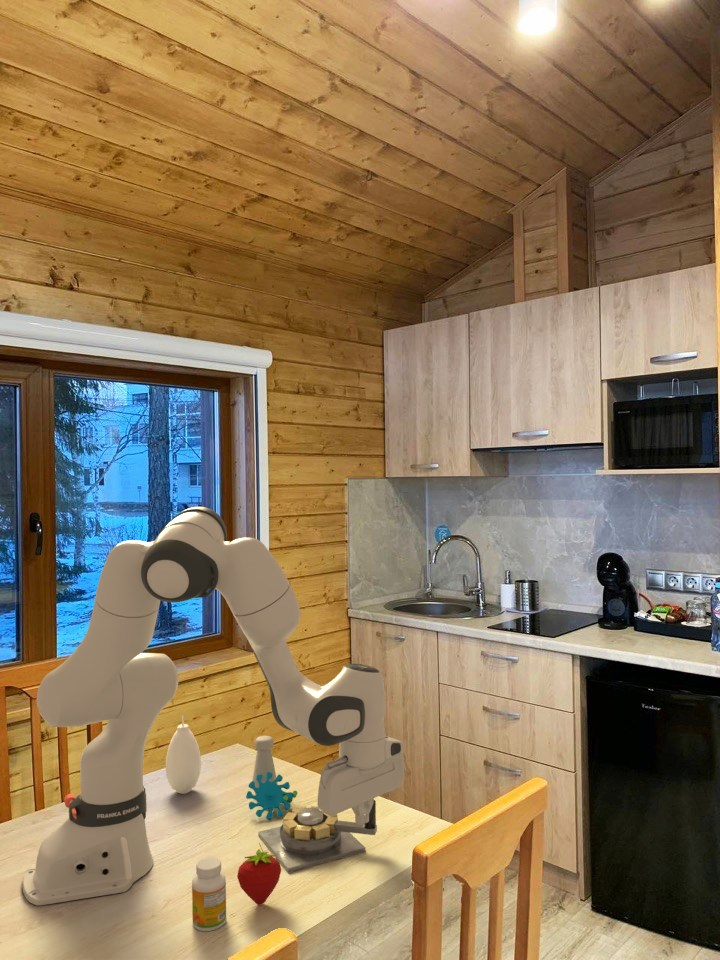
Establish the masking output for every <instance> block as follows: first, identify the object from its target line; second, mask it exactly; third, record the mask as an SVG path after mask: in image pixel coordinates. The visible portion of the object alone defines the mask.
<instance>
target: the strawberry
mask: <svg viewBox="0 0 720 960" xmlns="http://www.w3.org/2000/svg"><path fill="white" fill-rule="evenodd" d="M258 845H259V847H260V848H258V849H257V851H256V852H255V854H254V855H249V856H244V859H246V860H245V861H243V862H242V863H241V864H240V866H239V867H238V870H237V875H236V877H237V881H238V883H239V886H240V888H241V890H243V892H244V893H245V894H246V895H247V897H249V899H250V900H252V901H253V902H254V903H255V904H256V905H257V906H261V905H262V906H263V904H265V903H266V901H267V899H268V898H269V897H270V896H271V895H272V893H273V892H274V890H275V888H276V886H277V884H278V883H279V881H280V877H281V874H282V873H281V872H282V867H281V863H280V862H279V861H278V859H277V858H276V857H275V856H276V855H274V854H269V851H265V852H264V850H263V848H262V846H261V844H260V842H259V843H258ZM260 849H261V850H260Z"/></svg>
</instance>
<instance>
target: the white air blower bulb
mask: <svg viewBox="0 0 720 960" xmlns="http://www.w3.org/2000/svg"><path fill="white" fill-rule="evenodd" d="M184 717H185V716H184V714H182V715H181V724H179V725H178V726H177V728H176V731H175V732H174V734H173V735H172V738H171V740H170V742H169V745H168V748H167V753H166V758H165V773H166V779H167V781H168V782H167V783H168V784H169V786H170V787H171V789H172V790H174V791H175V792H176V793H179V794H181V795H185V794H188V793H189V792H191V791H192V789H194V787H196V785H197V783H198V781H199V778H200V775H201V769H202V760H201V757H202V756H201V752H200V747H199V745H198V742H197V738H196V737H195V734H193V732H192V730H191V729H190V726H189V725H188V724H186V723H185V719H184Z"/></svg>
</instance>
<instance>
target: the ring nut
mask: <svg viewBox="0 0 720 960" xmlns="http://www.w3.org/2000/svg"><path fill="white" fill-rule="evenodd" d="M376 805H377V804H376V800H375V799H374V803H373V806H372V808H371V811H370V813H369V822H367V823H365V824H363V825H358V824H356V822H353V821H345V820H339V817H338V814H336V815H333V816H330V815H328V814H325V813H323V822H324V823H322V824H319V825H315V826H304V825H298V824H297V823H298V812H299V811H300V810H302V809H304V808H308V807H307V806H302V807H297V808H295V809H292V810H291V812H289V811H288V812H287V813H286V814H285V816H283V818H282V824H283V831H284V832H285V833H286V834H287V835H288V836H289V837H292V836H295V839H299V840H307V841H310V839H311V838H312V837H313V838H314V839H315V840H318V839H322V838H325V837H329V836H330V833H331V834H334V833H335V831H341V832H350V833H351V834H359V835H360V834H361V835H367V836H368V835H370V836H375V835H376V833H377V831H378V825H377V817H376V816H377V814H376V813H377V809H376V808H377V807H376ZM309 808H318V806H314V805H313V806H312V805H311V806H310V807H309ZM318 809H319V808H318Z"/></svg>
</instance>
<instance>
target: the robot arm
mask: <svg viewBox="0 0 720 960" xmlns="http://www.w3.org/2000/svg"><path fill="white" fill-rule="evenodd" d="M227 538H228V532H227V527H226V524H225V521H224V520H223V518H222V517H221V515H220V514H219V513H217V512H216V511H214V510H213V509H211V508H209V507H205V506H194V507H190V508H187V509H184V510H182V511H181V512H179V513H177V514H175V516H174V517H172V518H171V519H170V520H169V522H168V523H166V525H165V526H163V528H161V530H159V532H158V535H157V537H156V538H155V540H153V541H148V542H147V541H142V540H139V539H138V540H137V539H135V540H134V539H132V540H125V541H122V542H120V543H117V544H116V545H115V546H114V547H113V548H112V549H110V551H109V553H108V554H107V557H106V560H105V562H104V566H103V568H102V570H101V573H100V577H99V580H98V583H97V588H96V592H95V597H94V604H93V608H92V613H91V617H90V620H89V625H88V627H87V628H88V629H87V631H86V633H85V635H84V637H83V639H82V641H81V642H80V643H79V645H78V646H77V647H76V649H74V651H73V652H72V654H71V655H69V657H68V658H67V659H65V660H64V662H63V663H61V664H60V665H58V666H57V667H56V668H54V669H53V670H51V671H49V672H48V673H47V674H46V675H45V676H44V677H43V679H42V680H41V682H40V684H39V686H38V689H37V693H36V705H37V709H38V713H39V714H40V716H41V718H42V719H43V720H44V721H45V723H47V724H48V725H50V726H51V727H52V728H73V727H74V728H75V727H77V728H78V727H82V726H83V727H84V726H88V725H93V724H97V723H103V722H106V721H107V723H106V725H105V727H104V728H103V729H102V731H101V732H100V733H99V734H98V735H97V736H96V737H95V738H94V739H92V740H91V741H90V742H89V743H88V744H86V746H85V747H84V749H83V751H82V753H81V756H80V759H79V772H80V773H79V774H80V775H79V777H80V794H79V795H77V796H76V795H74V793H67V795H65V797H64V799H63V802H64V806H65V807H66V808H68V818H67V819H66V820H65V821H64V822H62V823H61V824H60V825H59V826H58V827H57V828H56V829H55V830H53V831H52V832H51V833H50V834H49V835H48V836H46V837H45V838H44V839H43V841H42V842H41V844H40V846H39V849H38V853H37V856H36V860H35V861H36V862H35V863H32V864H31V865H29V867H28V868H27V869H26V871H25V872H24V874H23V877H22V891H23V895H24V897H25V899H26V900H27V901H28V902H29V903H30V904H32V905H34V906H44V905H52V904H57V903H64V902H65V903H66V902H70V901H76V900H82V899H88V898H95V897H102V896H108V895H114V894H119V893H120V894H121V893H125V892H126V891H128V890H129V889H130V888H131V887H132V885H133V884H134V882H136V881H137V880H139V879H140V878H141V877H144V876H145V875H146V874H147V873H148V872H149V871H150V870H151V869H152V867H153V864H154V858H153V855H152V852H151V849H150V844H149V840H148V835H147V829H146V819H147V817H146V816H147V810H148V809H147V792H146V788H145V786H144V761H145V760H144V759H145V748H146V747H145V746H146V743H147V740H148V739H147V738H148V735H149V734H150V731H151V729H152V727H153V725H154V722H155V721H156V719H157V717H159V714H160V713H161V712H162V710H163V709H164V708H165V707H166V706H167V705H168V704H169V703H170V702H171V701H172V700H173V698H174V697H175V695H176V694H177V690H178V688H179V687H178V686H179V673H178V669H177V667H176V664H175V662H174V661H173V660H172V658H170V657H169V656H168V655H167V654H165V653H158V652H157V653H156V652H144V651H145V650H146V649H147V648H148V647H149V646H150V643H151V641H152V640H153V638H154V633H155V628H156V624H157V620H158V615H159V608H160V604H161V602H166V603H180V602H181V603H182V602H186V601H189V600H192V599H197V598H198V599H200V598H206V597H209V596H211V595H212V593H214V591H215V590H216V591H218V592H219V593H220V594H221V596H222V597H223V598H224V599H225V601H226V604H227V605H228V608H229V609H230V611H231V613H232V615H233V617H234V619H235V621H236V623H237V624H238V626H239V628H240V629H241V631H242V633H243V635H244V636H245V637H246V639H247V641H248V644H249V645H250V648H251V650H252V653H253V655H254V658H256V662H257V663H258V666H259V668H260V670H261V673H262V675H263V677H264V679H265V681H266V683H267V685H268V686H267V687H268V690H269V693H270V694H269V695H270V704H271V711H272V715H273V718H274V720H275V721H276V723H277V724H278V725H279V726H280V727H282V728H284V729H286V730H288V731H291V732H294V733H296V734H298V735H300V736H302V737H303V738H305V739H308V740H310V741H311V742H313V743H315V744H317V745H319V746H325V747H326V746H327V747H330V746H334V745H338V758H336V759H335V760H330V761H328V762H326V764H325V766H324V767H323V769H321V772H320V778H319V782H318V783H319V784H318V790H317V791H318V792H317V807H318V808H319V809H320V811H321V812H323V813H325V814H328V815H330V816H333V815H336V814H337V815H338V814H340V813H343V812H345V811H347V810H350V809H351V810H352V811H353V813H354V816H355V817H354V819H355V820H354V821H355V822H356V824H358V825H363V824H365V823H367V822H369V813H370V811H371V808H372V806H373V803H374V800H375V798H378V797H380V796H382V795H384V794H387V793H389V792H391V791H394V790H397V789H398V788H400V787H402V785H403V782H404V780H405V760H404V759H405V758H404V755H403V754H402V753H403V752H404V748H405V746H404V745H405V744H404V742H403V741H401V740H399V739H396V738H393V737H390V736H387V735H386V729H385V725H384V720H385V715H386V691H385V690H386V688H385V682H384V677H383V674H382V673H381V671H380V670H378V669H377V668H376V667H373V666H370V665H365V664H360V663H347V664H344V665H343V666H342V668H341V671H340V672H339V673H338V674H337V675H336V676H335V677H334V678H333V679H332V680H330V681H329V682H328V683H326V684H324V685H320V684H319V683H316V682H314V681H312V680H311V679H309V678H307V676H305V675H304V674H303V673H302V672H301V671H300V670H299V668H298V666H297V664H296V662H295V659H294V657H293V654H292V652H291V650H290V648H289V645H288V643H287V639H288V638H289V637H290V636H291V635H292V634H293V633H295V630H296V629H297V627H298V625H299V623H300V619H301V615H302V614H301V608H300V604H299V602H298V598H297V595H296V594H295V591H294V589H293V587H292V585H291V584H290V581H289V580H288V578H287V576H286V574H285V572H284V571H283V569H282V568H281V566H280V564H279V563H278V562H277V559H276V558H275V557H274V555H273V554H272V552H271V551H270V550H269V549H268V548H267V547H266V545H265V544H264V543H263V542H262V541H261V540H259V539H257V538H255V537H248V536H247V537H240V538H235V539H234V540H232V541H230V540H229V541H227Z"/></svg>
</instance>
